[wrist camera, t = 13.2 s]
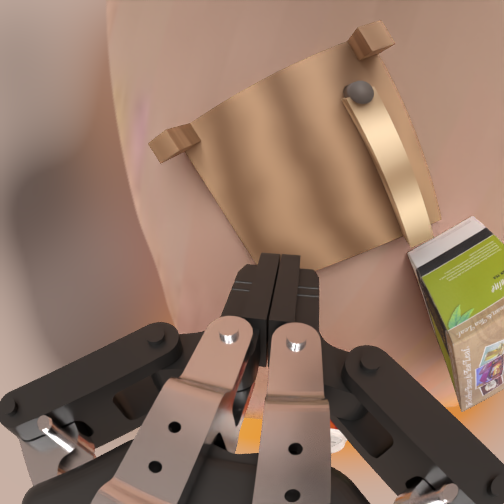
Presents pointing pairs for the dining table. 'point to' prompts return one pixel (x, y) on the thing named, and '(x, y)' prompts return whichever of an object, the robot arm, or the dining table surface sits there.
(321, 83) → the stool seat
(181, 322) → the dining table surface
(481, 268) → the tea box
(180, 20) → the dining table surface
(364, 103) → the tan curved wooden piece
